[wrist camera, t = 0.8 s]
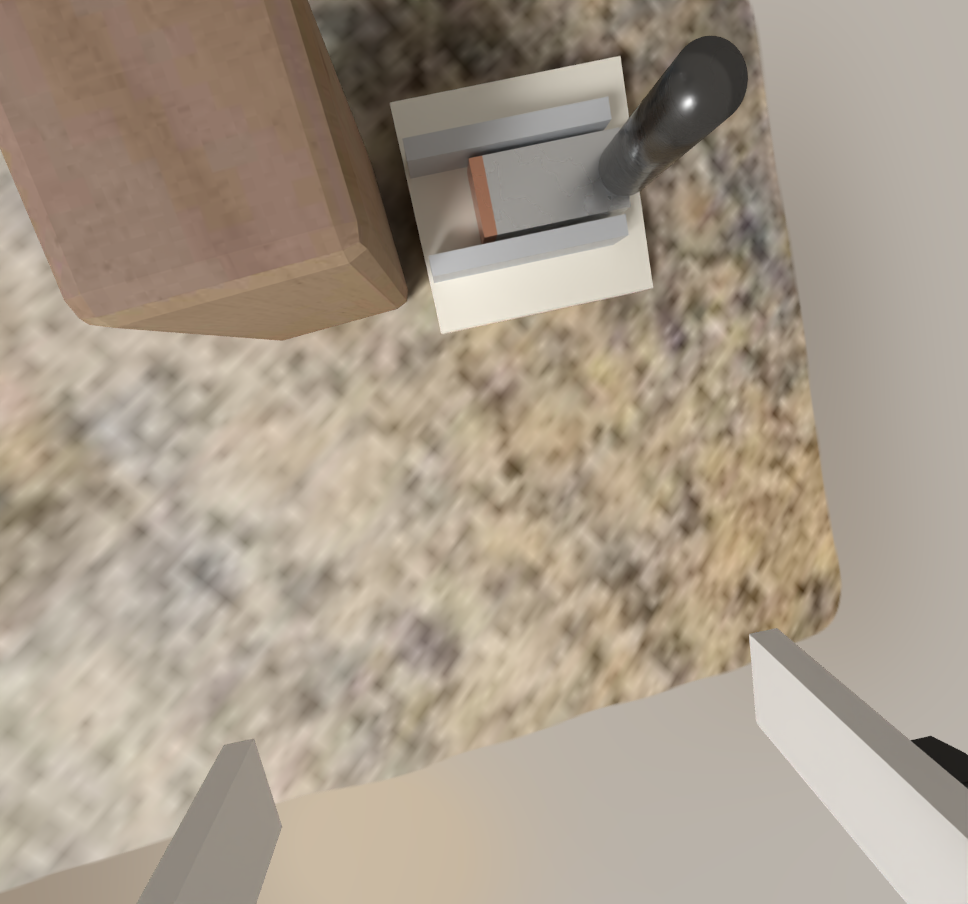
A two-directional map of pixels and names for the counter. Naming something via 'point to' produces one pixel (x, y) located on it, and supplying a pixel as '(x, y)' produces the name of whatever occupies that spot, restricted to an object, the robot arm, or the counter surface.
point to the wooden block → (193, 166)
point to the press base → (530, 258)
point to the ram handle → (608, 151)
